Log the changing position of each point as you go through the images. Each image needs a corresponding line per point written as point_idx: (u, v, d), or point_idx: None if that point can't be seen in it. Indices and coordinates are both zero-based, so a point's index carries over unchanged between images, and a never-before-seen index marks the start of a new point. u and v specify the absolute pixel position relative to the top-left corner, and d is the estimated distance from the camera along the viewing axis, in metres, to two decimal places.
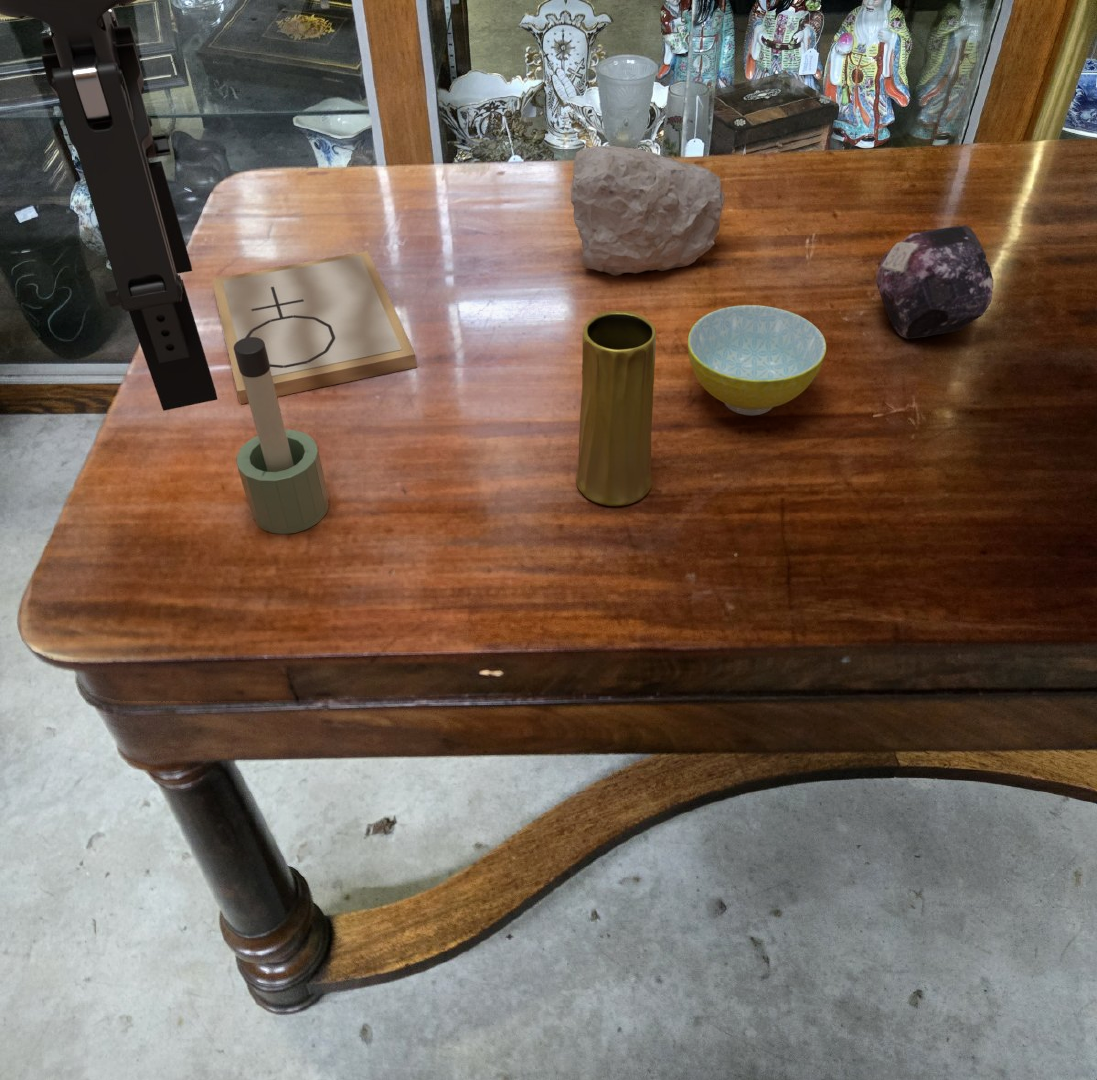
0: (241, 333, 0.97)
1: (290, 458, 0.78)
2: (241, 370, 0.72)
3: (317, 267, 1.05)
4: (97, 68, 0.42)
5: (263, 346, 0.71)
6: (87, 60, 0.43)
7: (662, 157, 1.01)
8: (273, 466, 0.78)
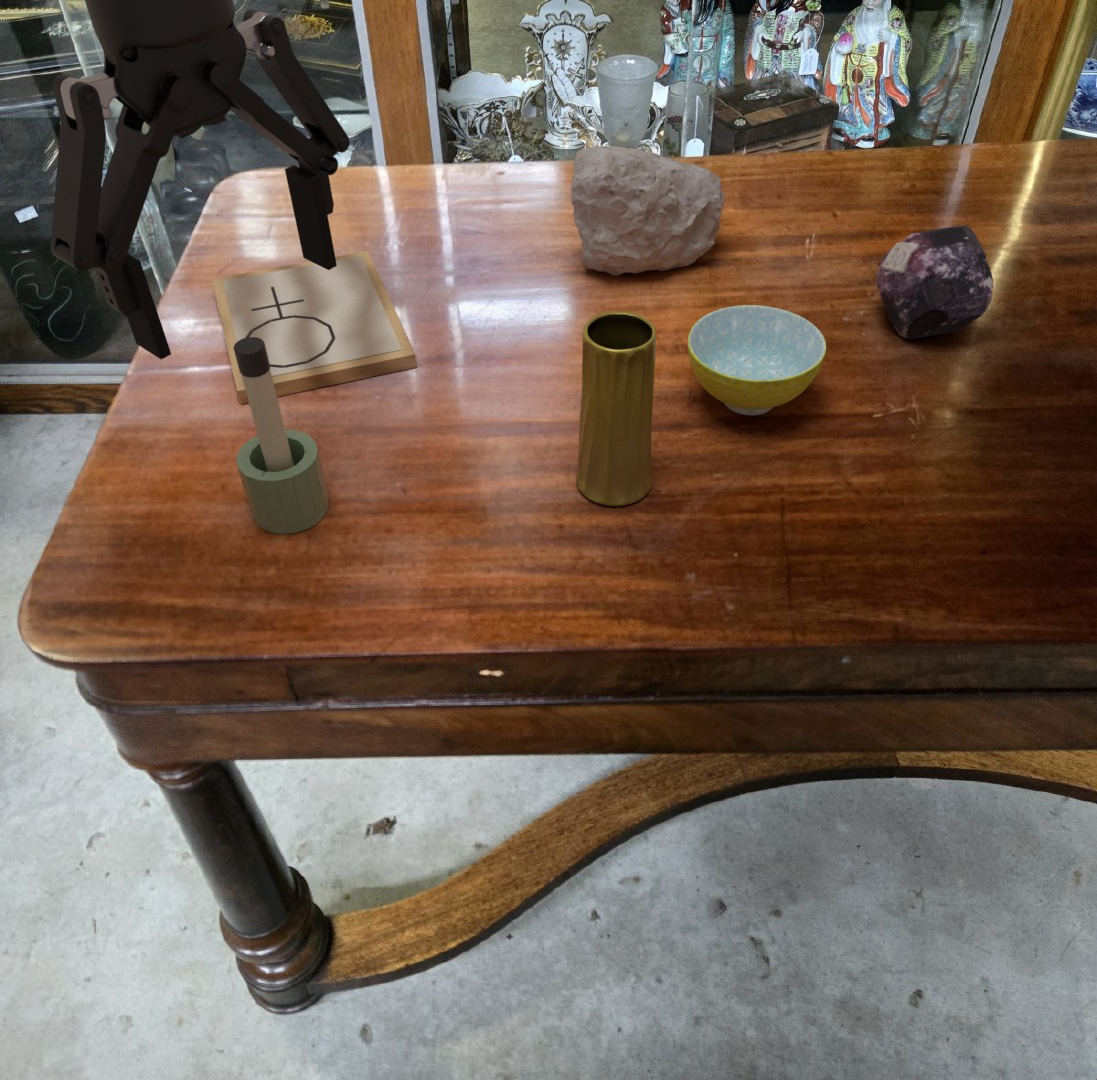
0: (241, 333, 0.97)
1: (290, 458, 0.78)
2: (241, 370, 0.72)
3: (317, 267, 1.05)
4: (73, 86, 0.54)
5: (263, 346, 0.71)
6: (98, 77, 0.55)
7: (662, 157, 1.01)
8: (273, 466, 0.78)
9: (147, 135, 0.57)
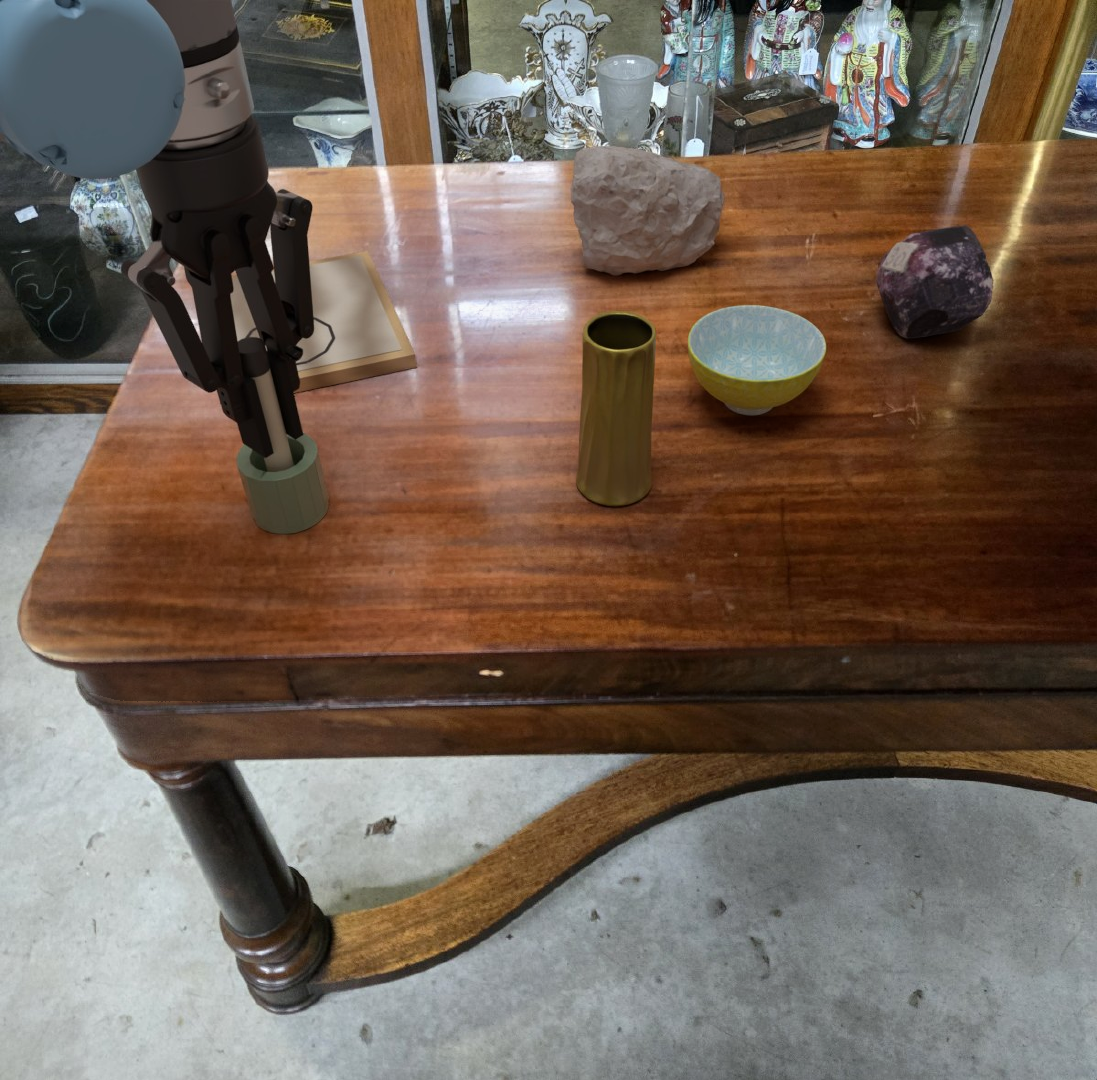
0: (241, 333, 0.97)
1: (290, 458, 0.78)
2: None
3: (317, 267, 1.05)
4: (137, 277, 0.62)
5: (263, 346, 0.71)
6: (151, 253, 0.62)
7: (662, 157, 1.01)
8: (273, 466, 0.78)
9: (212, 287, 0.65)
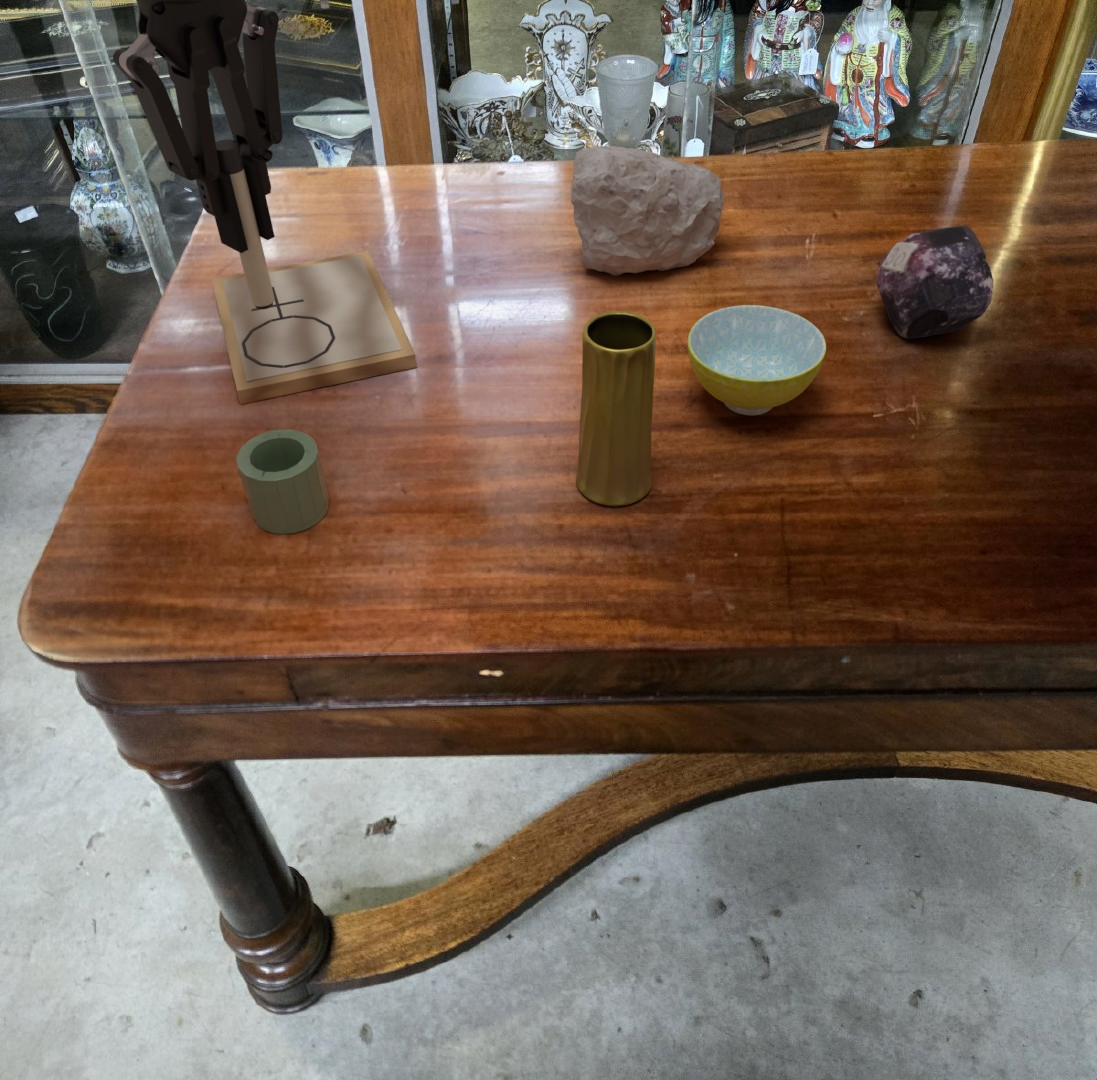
0: (241, 333, 0.97)
1: (263, 259, 0.89)
2: None
3: (317, 267, 1.05)
4: (127, 62, 0.73)
5: (237, 145, 0.82)
6: (139, 42, 0.73)
7: (662, 157, 1.01)
8: (248, 265, 0.89)
9: (191, 80, 0.76)
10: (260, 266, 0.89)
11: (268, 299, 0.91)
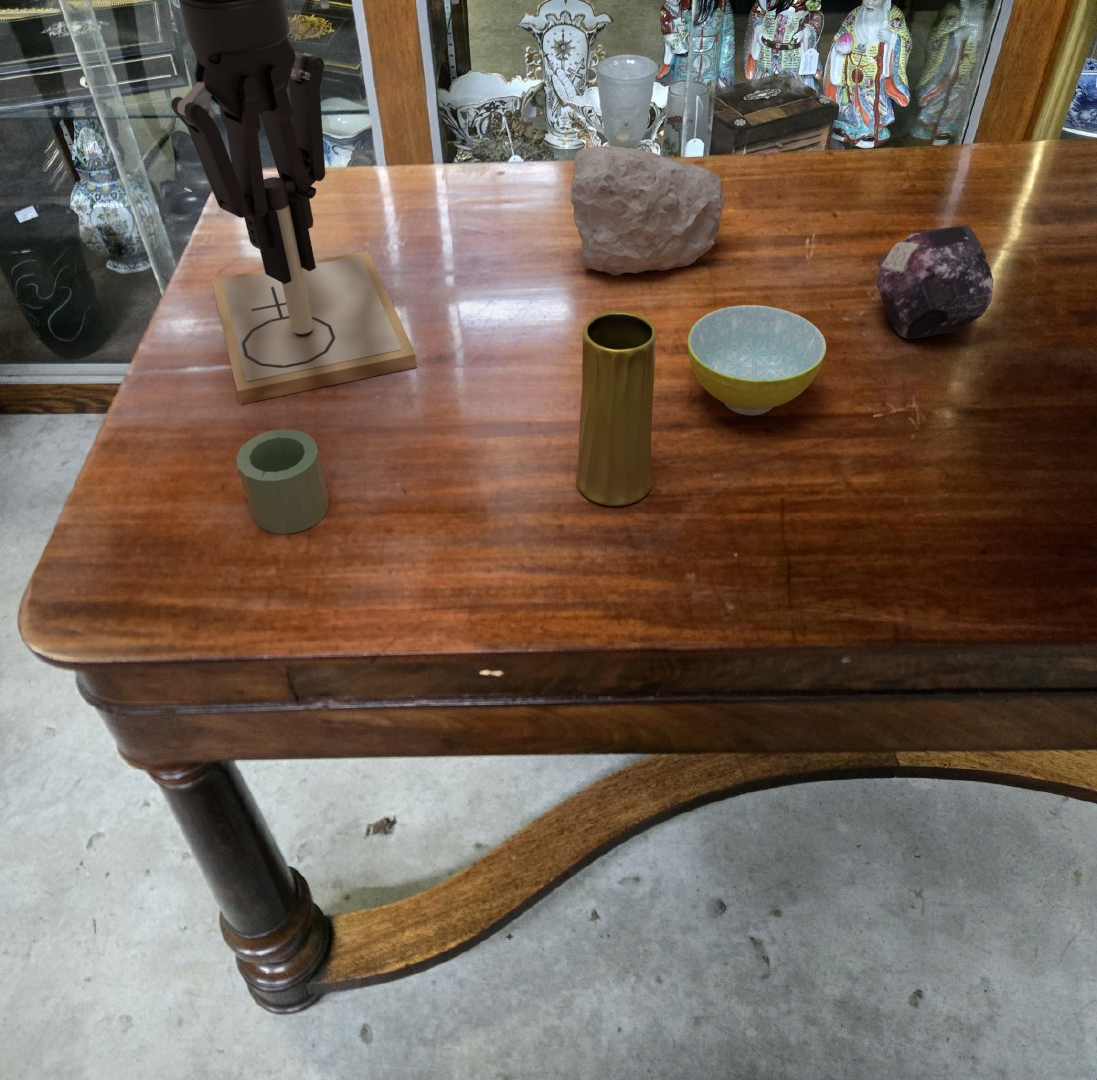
0: (241, 333, 0.97)
1: (305, 289, 0.93)
2: None
3: (317, 267, 1.05)
4: (185, 109, 0.77)
5: (283, 183, 0.86)
6: (196, 90, 0.77)
7: (662, 157, 1.01)
8: (290, 295, 0.93)
9: (243, 124, 0.81)
10: (301, 296, 0.93)
11: (308, 327, 0.96)
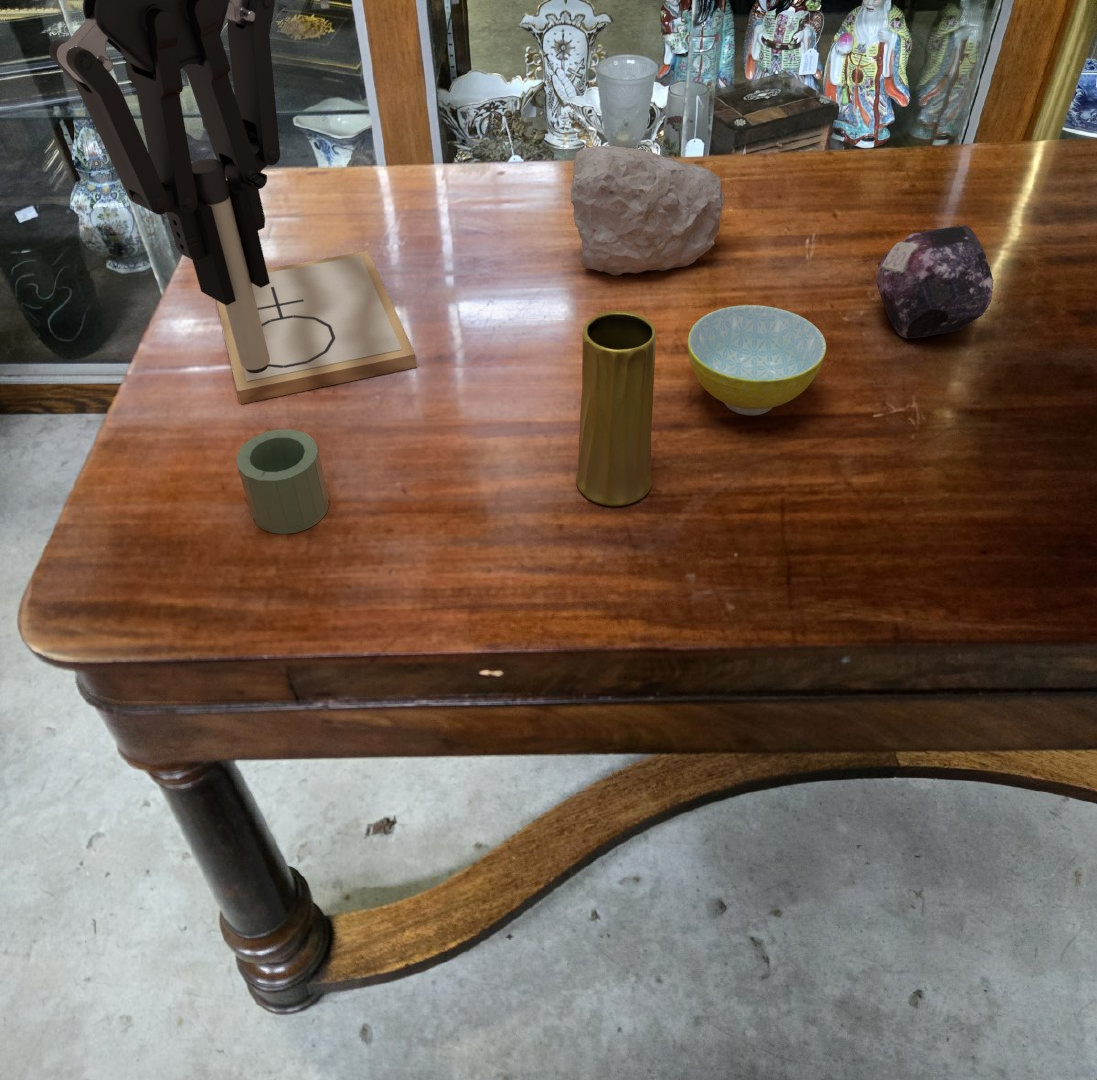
0: None
1: (256, 311, 0.69)
2: None
3: (317, 267, 1.05)
4: (67, 56, 0.53)
5: (221, 167, 0.62)
6: (84, 30, 0.54)
7: (662, 157, 1.01)
8: (236, 319, 0.69)
9: (158, 81, 0.57)
10: (252, 320, 0.69)
11: (262, 360, 0.72)
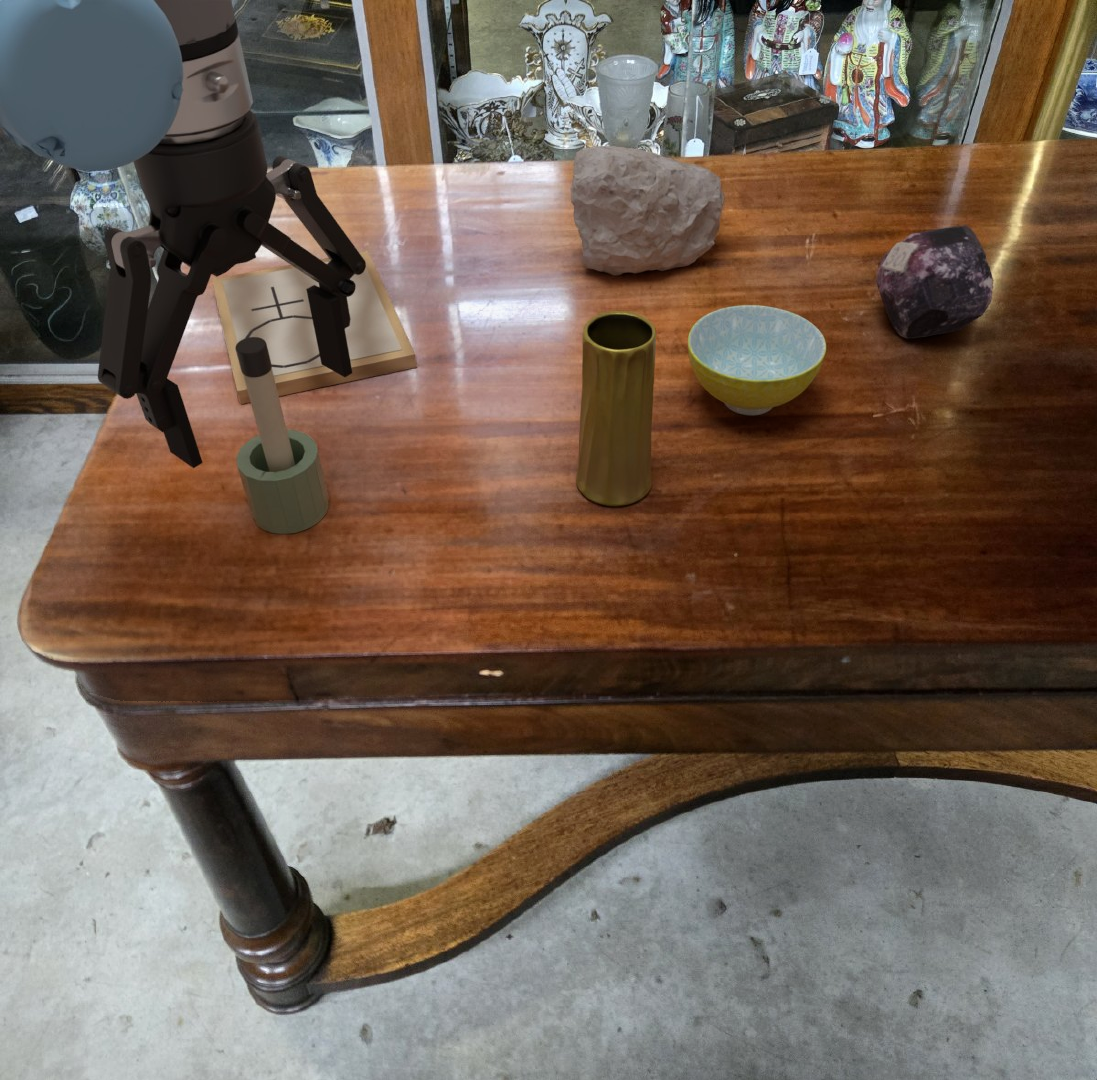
0: (241, 333, 0.97)
1: (292, 458, 0.78)
2: (243, 370, 0.72)
3: None
4: (123, 241, 0.60)
5: (265, 346, 0.71)
6: (145, 231, 0.61)
7: (662, 157, 1.01)
8: (274, 466, 0.78)
9: (187, 277, 0.63)
10: (288, 466, 0.78)
11: None
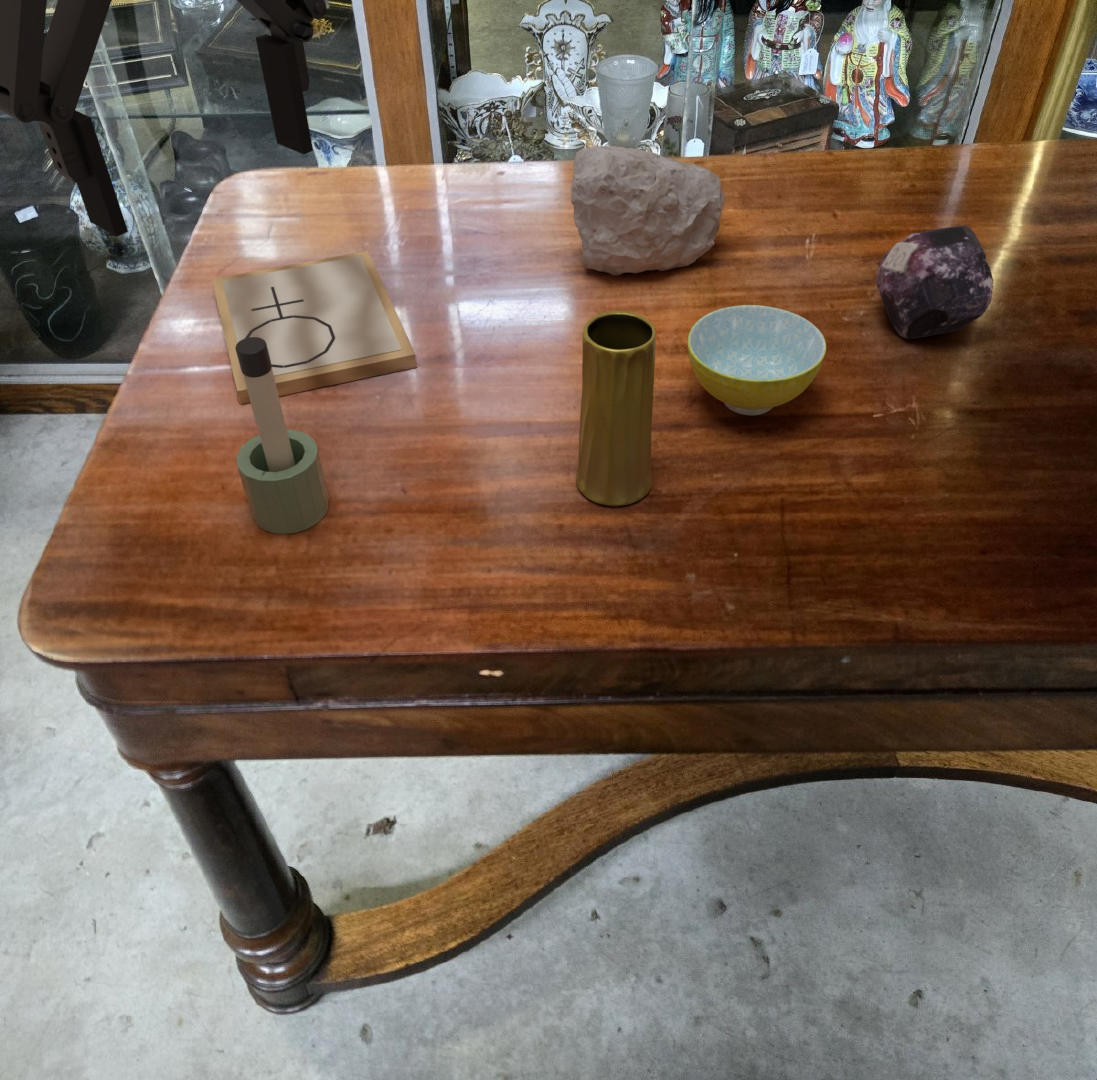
0: (241, 333, 0.97)
1: (292, 458, 0.78)
2: (243, 370, 0.72)
3: (317, 267, 1.05)
4: None
5: (265, 346, 0.71)
6: None
7: (662, 157, 1.01)
8: (274, 466, 0.78)
9: None
10: (288, 466, 0.78)
11: None
